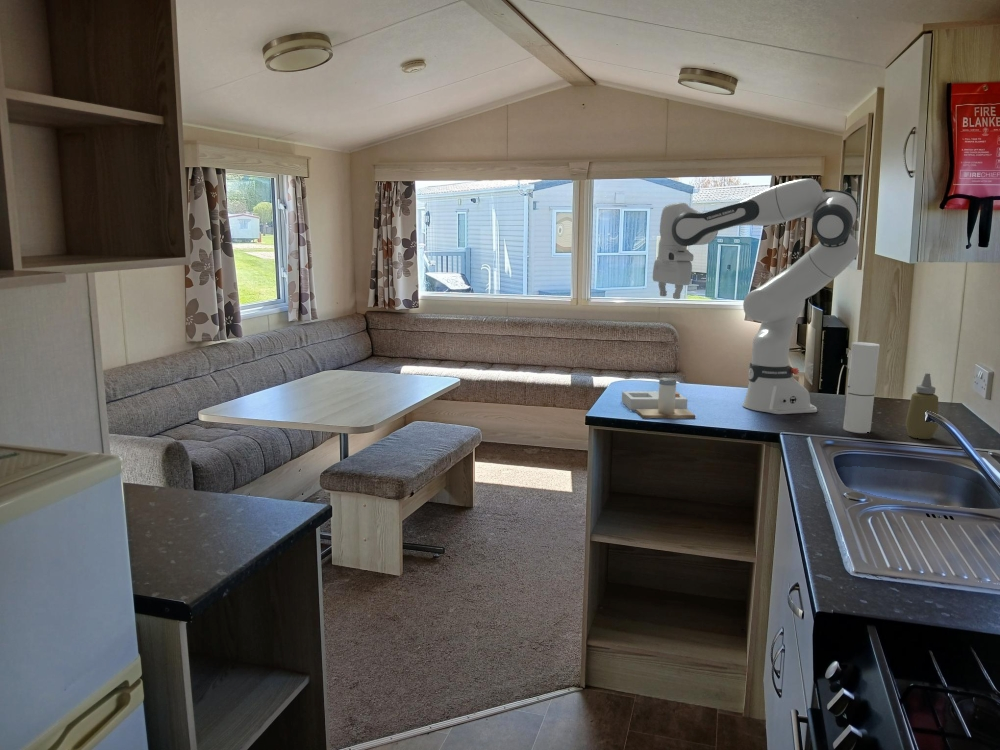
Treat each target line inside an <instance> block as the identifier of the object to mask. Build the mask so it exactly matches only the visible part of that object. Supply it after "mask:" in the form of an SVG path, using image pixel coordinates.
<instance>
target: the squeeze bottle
mask: <svg viewBox="0 0 1000 750" xmlns="http://www.w3.org/2000/svg"><path fill="white" fill-rule="evenodd" d="M935 393H936V387H935V386H932V378H931V373H927V372H926V373H925V374H924V377H922V382H921V384H919V385H916V389H915V392H913V393H912V394H911V397H910V401H909V404H908V405H909V406H908V409H907V415H906V419H905V428H906V431H907V435H908V436H909V437H911V438H913V439H914V438H915V439H917V438H918V440H931V439H933V437H934V435H935V433H936V431H937V429H938V427H939V423H938V424H937V423H934V422H926V421H925V412H926V411H927V410H928V411H931V412H934V413H936V414H938V415H939V396H938V395H937V394H935Z"/></svg>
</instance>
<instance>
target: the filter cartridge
mask: <svg viewBox="0 0 1000 750" xmlns="http://www.w3.org/2000/svg"><path fill="white" fill-rule="evenodd" d="M658 383H659V384H658V391H659V398H658V412H659V413H664V414H672V413H674V412H675V394H676V392H677V379H676V378H669V377H662V378H659V380H658Z"/></svg>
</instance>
